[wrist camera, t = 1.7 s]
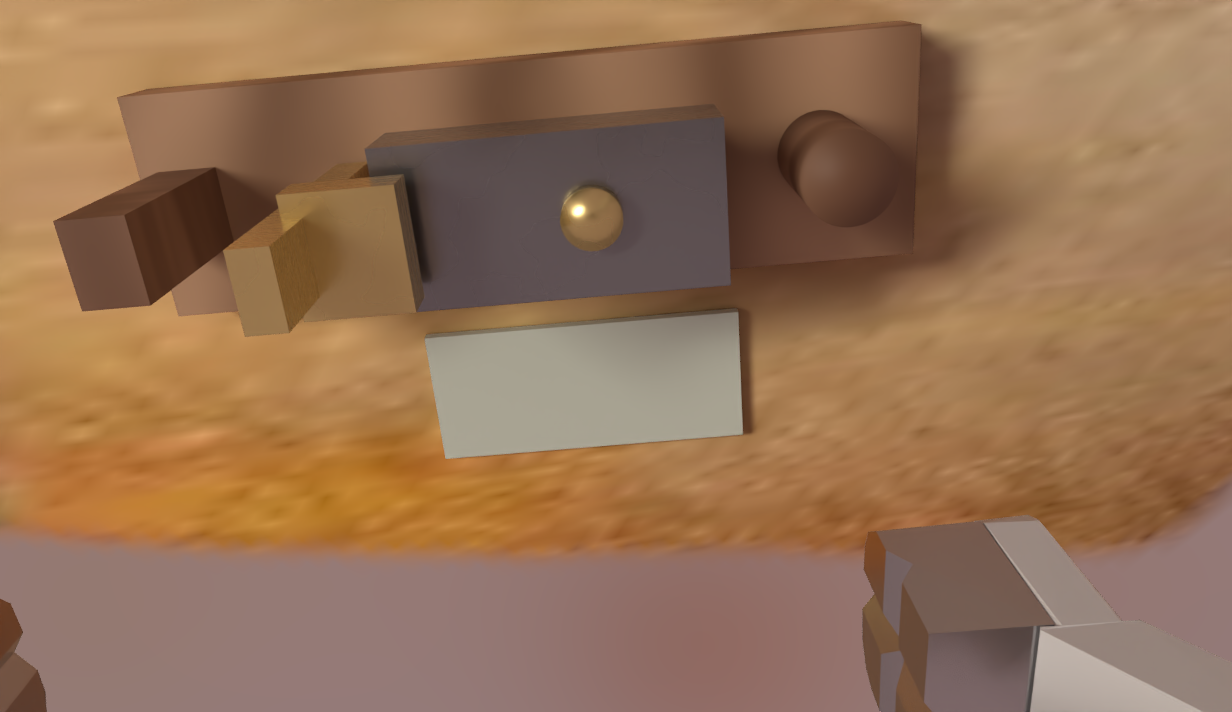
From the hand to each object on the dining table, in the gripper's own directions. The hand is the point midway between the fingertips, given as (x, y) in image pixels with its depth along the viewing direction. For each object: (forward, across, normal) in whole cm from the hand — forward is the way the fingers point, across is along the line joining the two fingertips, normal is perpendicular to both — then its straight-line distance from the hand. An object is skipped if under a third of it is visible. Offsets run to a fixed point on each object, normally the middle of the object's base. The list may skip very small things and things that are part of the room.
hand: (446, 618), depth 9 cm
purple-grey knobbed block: (+19, 0, 0) cm, 19 cm away
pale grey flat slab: (+24, -1, +8) cm, 25 cm away
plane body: (+24, 0, 0) cm, 24 cm away
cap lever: (+22, +5, 0) cm, 22 cm away
